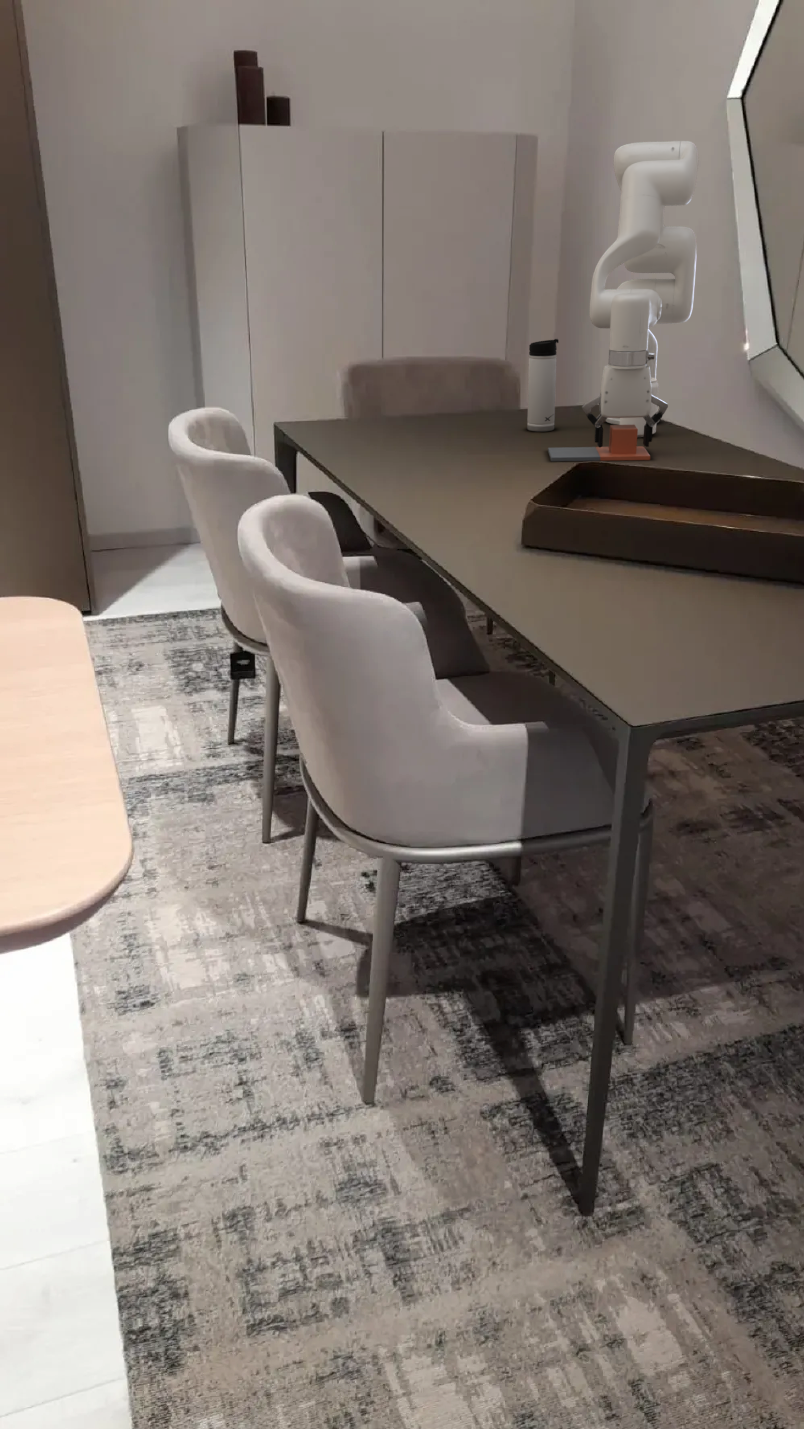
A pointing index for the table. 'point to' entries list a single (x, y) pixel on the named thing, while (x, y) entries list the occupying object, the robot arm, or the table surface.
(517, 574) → the table surface
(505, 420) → the table surface
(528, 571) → the table surface
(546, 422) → the travel mug
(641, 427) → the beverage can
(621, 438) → the terracotta block
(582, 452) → the sorting board
